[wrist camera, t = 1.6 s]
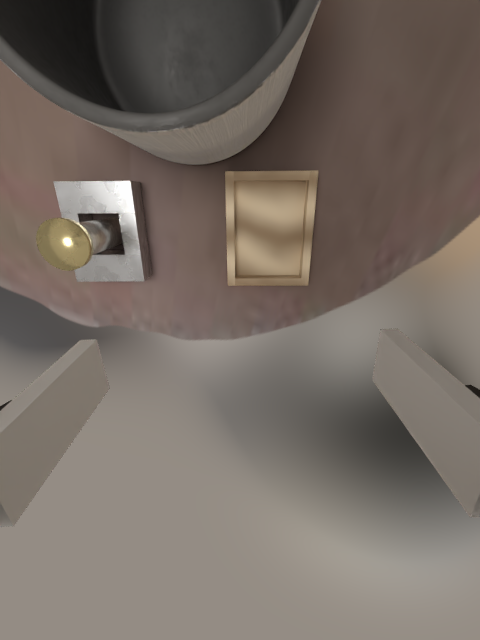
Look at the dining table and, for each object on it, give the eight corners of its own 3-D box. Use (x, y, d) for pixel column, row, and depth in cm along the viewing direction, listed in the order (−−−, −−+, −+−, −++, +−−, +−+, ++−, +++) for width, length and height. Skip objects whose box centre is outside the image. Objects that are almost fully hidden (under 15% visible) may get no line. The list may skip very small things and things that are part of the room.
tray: (226, 172, 36) (225, 171, 34) (314, 172, 36) (318, 170, 34) (228, 281, 42) (227, 285, 40) (304, 280, 42) (308, 285, 39)
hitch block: (70, 182, 37) (53, 181, 34) (140, 182, 37) (130, 180, 33) (90, 274, 42) (77, 281, 38) (152, 274, 41) (144, 281, 38)
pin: (91, 211, 38) (29, 218, 27) (129, 211, 38) (82, 218, 27) (99, 250, 40) (44, 270, 29) (134, 250, 40) (93, 270, 29)
